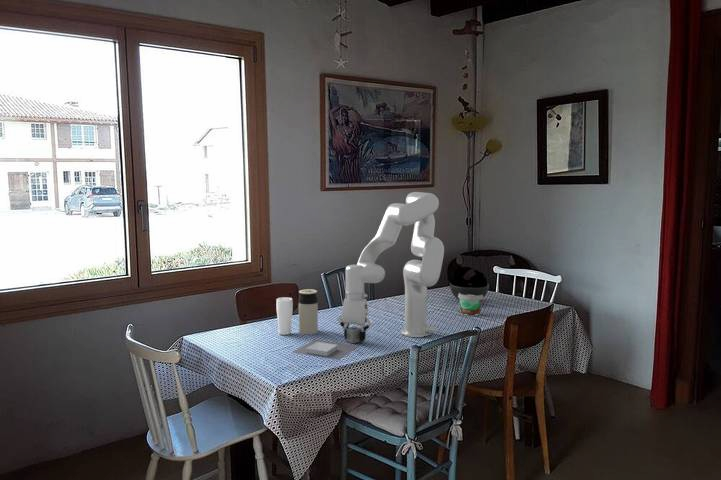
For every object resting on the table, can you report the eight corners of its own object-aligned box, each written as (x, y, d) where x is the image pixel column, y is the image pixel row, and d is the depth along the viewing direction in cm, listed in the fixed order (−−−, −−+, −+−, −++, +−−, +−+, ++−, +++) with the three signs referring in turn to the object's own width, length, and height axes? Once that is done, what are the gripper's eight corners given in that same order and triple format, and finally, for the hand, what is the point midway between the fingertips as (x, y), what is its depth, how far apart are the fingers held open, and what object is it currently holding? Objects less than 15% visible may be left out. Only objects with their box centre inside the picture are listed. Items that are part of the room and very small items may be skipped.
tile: (337, 344, 226) (327, 351, 218) (337, 349, 226) (327, 356, 218) (317, 341, 230) (305, 348, 222) (317, 346, 230) (305, 353, 222)
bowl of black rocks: (449, 298, 318) (450, 263, 315) (486, 299, 315) (488, 264, 312) (449, 306, 298) (450, 270, 296) (489, 308, 295) (491, 271, 293)
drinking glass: (279, 336, 244) (279, 301, 242) (274, 332, 250) (274, 298, 248) (295, 334, 248) (294, 299, 246) (289, 330, 253) (289, 296, 252)
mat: (359, 346, 232) (359, 345, 232) (339, 360, 215) (339, 359, 215) (314, 340, 240) (314, 339, 240) (291, 353, 223) (291, 352, 223)
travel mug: (310, 336, 246) (310, 293, 243) (295, 333, 250) (294, 291, 248) (321, 331, 252) (321, 290, 250) (306, 328, 257) (306, 288, 254)
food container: (454, 315, 282) (455, 294, 280) (457, 312, 287) (458, 292, 286) (480, 317, 277) (481, 297, 276) (483, 314, 283) (483, 294, 282)
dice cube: (352, 343, 233) (352, 331, 233) (345, 340, 237) (345, 328, 237) (362, 341, 236) (362, 329, 236) (355, 338, 240) (355, 326, 240)
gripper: (378, 296, 234) (378, 339, 237) (339, 292, 241) (339, 334, 244) (371, 299, 228) (370, 345, 230) (331, 295, 235) (331, 339, 237)
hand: (354, 339), depth 237 cm, fingers closed on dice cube, 6 cm apart
